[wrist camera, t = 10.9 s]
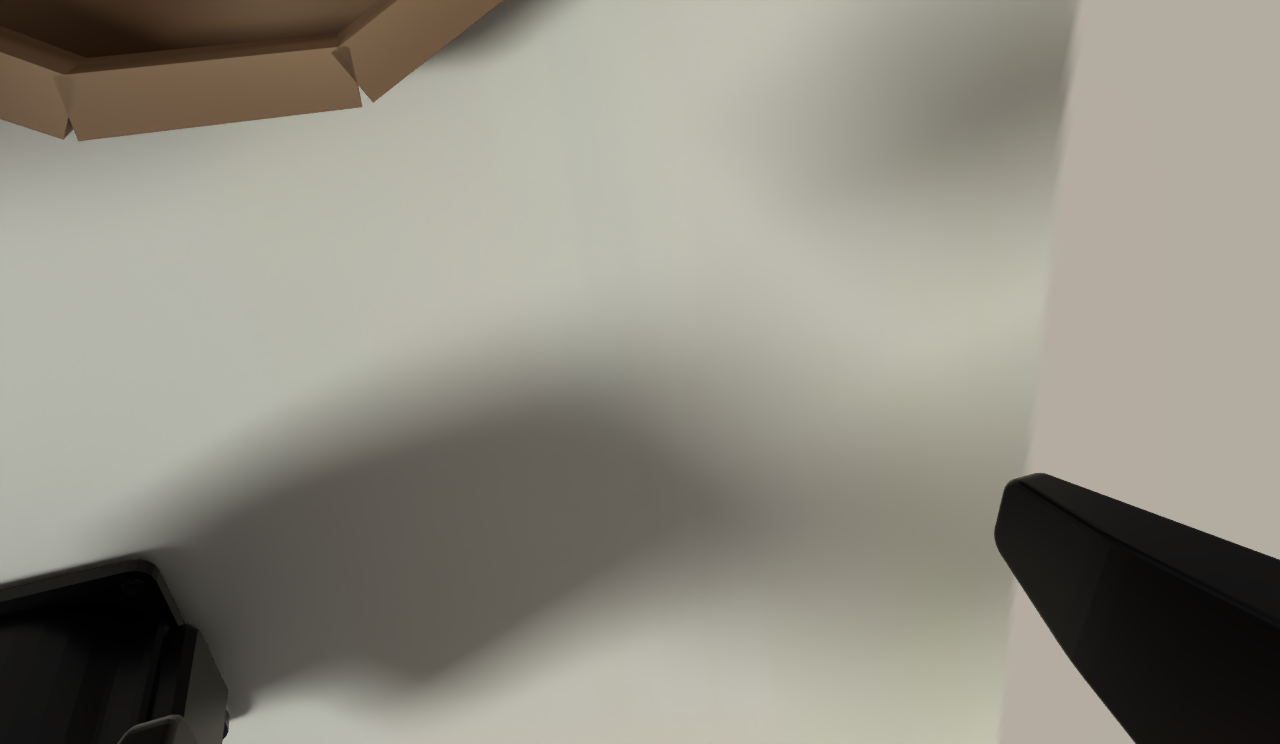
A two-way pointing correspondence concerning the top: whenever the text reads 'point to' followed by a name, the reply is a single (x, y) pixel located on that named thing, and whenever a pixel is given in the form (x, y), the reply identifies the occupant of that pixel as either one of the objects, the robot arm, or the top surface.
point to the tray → (208, 59)
